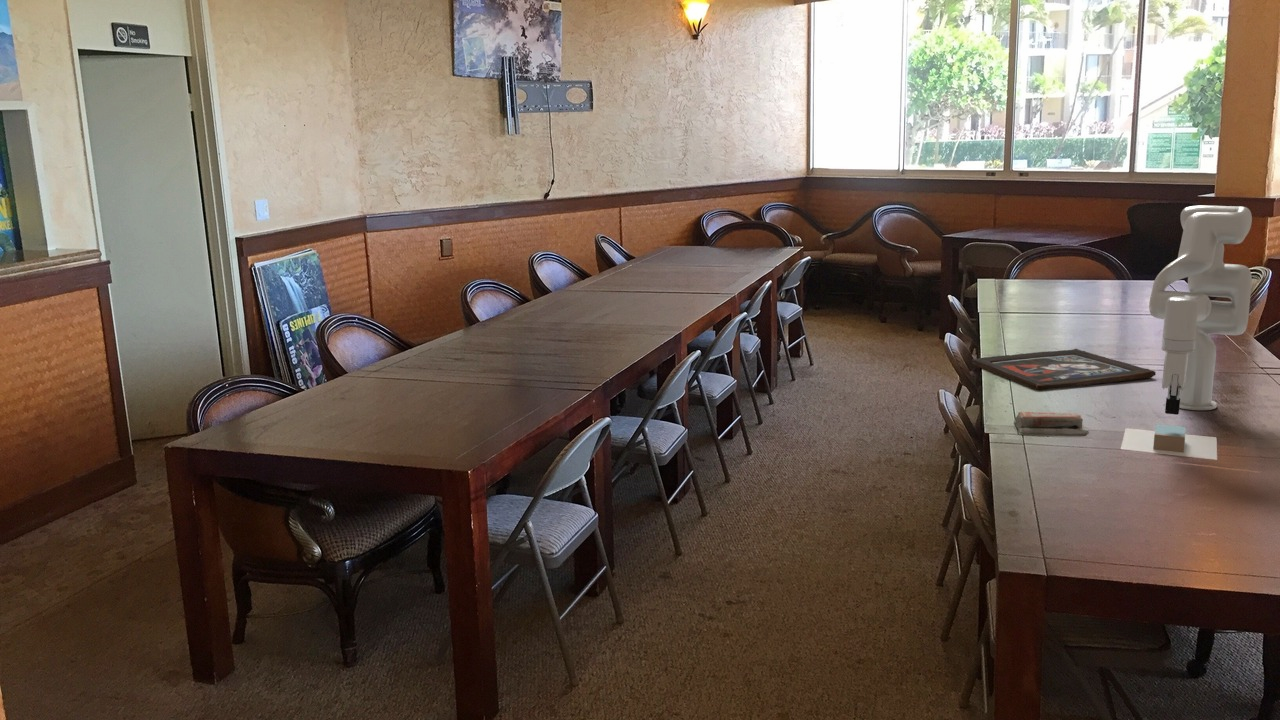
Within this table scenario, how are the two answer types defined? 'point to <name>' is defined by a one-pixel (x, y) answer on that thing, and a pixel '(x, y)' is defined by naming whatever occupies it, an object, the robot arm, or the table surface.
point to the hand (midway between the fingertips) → (1171, 413)
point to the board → (1192, 448)
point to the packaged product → (1050, 423)
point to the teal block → (1169, 438)
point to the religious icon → (1061, 369)
